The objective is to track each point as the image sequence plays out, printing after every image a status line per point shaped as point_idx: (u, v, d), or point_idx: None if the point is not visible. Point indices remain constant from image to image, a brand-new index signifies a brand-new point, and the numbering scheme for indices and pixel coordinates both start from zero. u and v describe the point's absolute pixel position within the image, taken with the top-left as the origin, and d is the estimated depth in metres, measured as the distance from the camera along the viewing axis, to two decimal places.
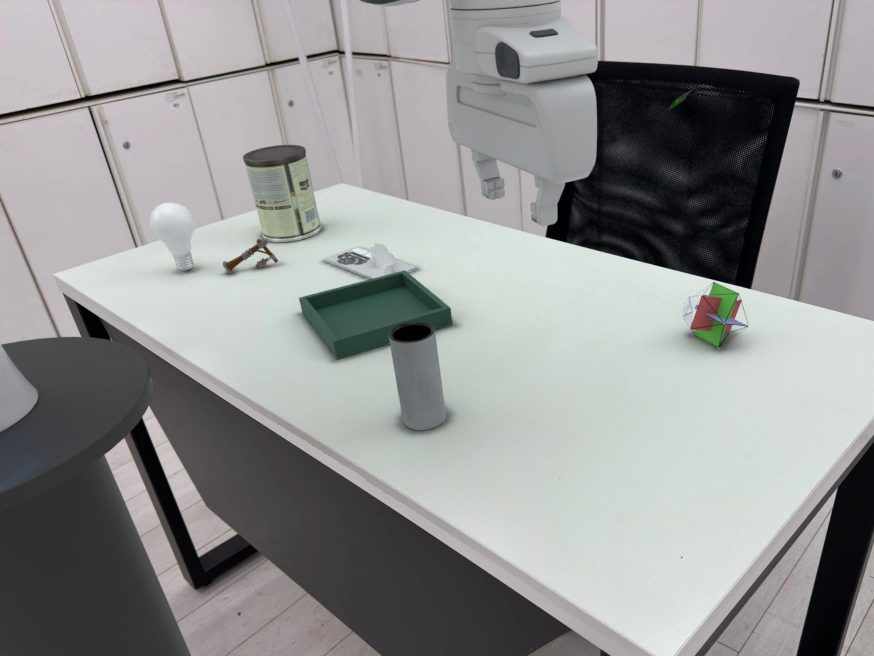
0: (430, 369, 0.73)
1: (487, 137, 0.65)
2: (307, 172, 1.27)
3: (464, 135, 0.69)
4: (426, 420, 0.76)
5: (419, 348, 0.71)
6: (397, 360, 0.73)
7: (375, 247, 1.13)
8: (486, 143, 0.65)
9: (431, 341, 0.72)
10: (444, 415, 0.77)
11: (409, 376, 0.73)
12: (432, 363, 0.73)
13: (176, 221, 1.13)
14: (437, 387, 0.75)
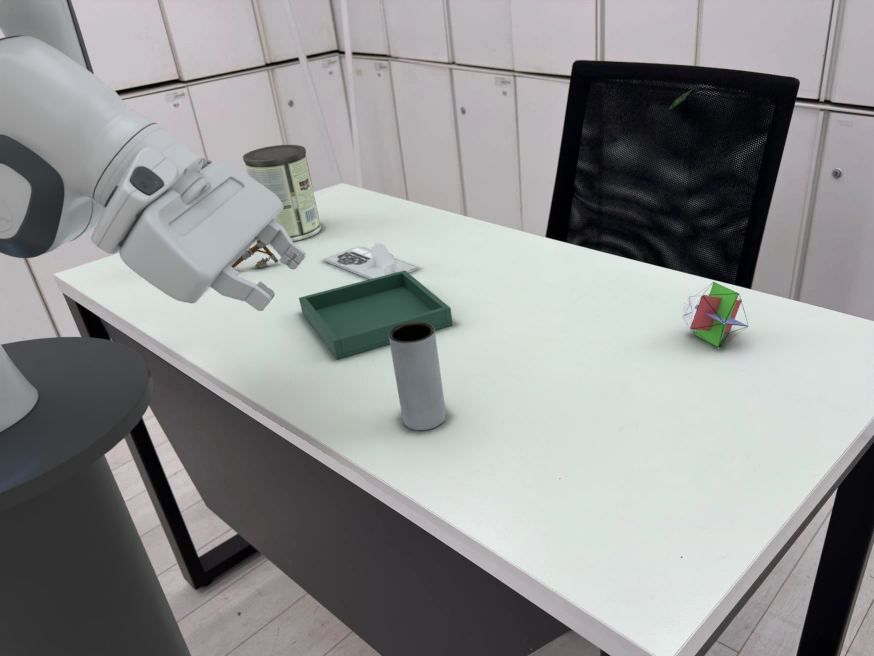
0: (430, 369, 0.73)
1: None
2: (307, 172, 1.27)
3: None
4: (426, 420, 0.76)
5: (419, 348, 0.71)
6: (397, 360, 0.73)
7: (375, 247, 1.13)
8: None
9: (431, 341, 0.72)
10: (444, 415, 0.77)
11: (409, 376, 0.73)
12: (432, 363, 0.73)
13: None
14: (437, 387, 0.75)
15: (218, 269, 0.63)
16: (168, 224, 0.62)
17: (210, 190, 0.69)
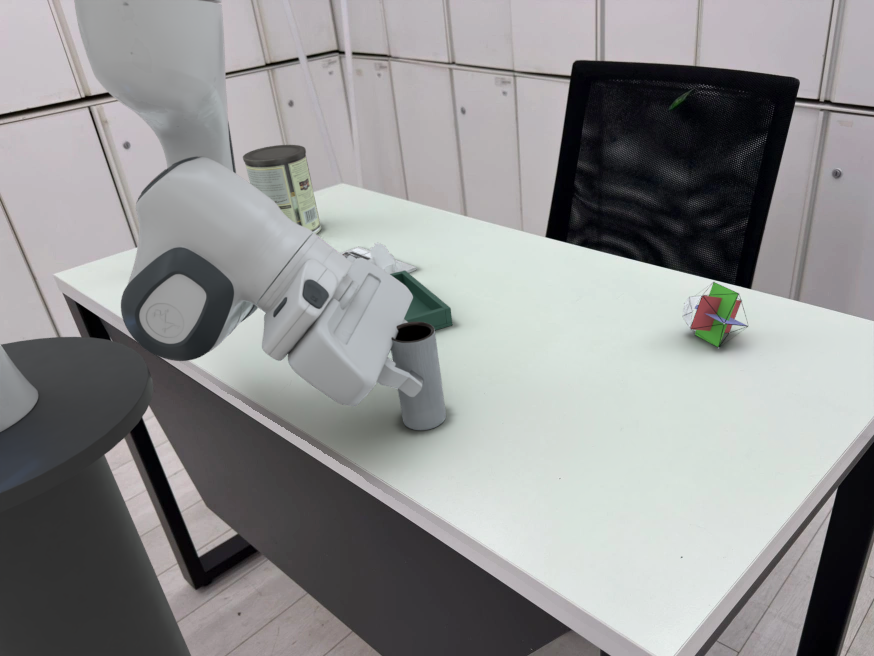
0: (430, 369, 0.73)
1: None
2: (307, 172, 1.27)
3: None
4: (426, 420, 0.76)
5: (419, 348, 0.71)
6: (397, 360, 0.73)
7: (375, 247, 1.13)
8: None
9: (431, 341, 0.72)
10: (444, 415, 0.77)
11: None
12: (432, 363, 0.73)
13: None
14: (437, 387, 0.75)
15: (378, 374, 0.66)
16: (333, 333, 0.66)
17: (357, 290, 0.73)
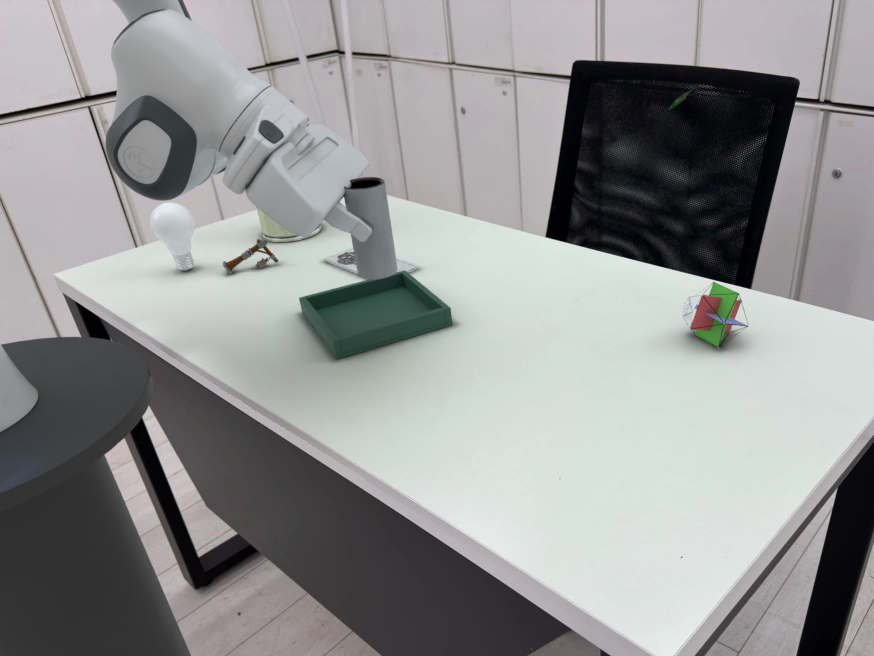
0: (380, 218, 0.80)
1: None
2: None
3: None
4: (378, 269, 0.82)
5: (369, 195, 0.78)
6: (350, 208, 0.79)
7: None
8: None
9: (381, 190, 0.79)
10: (395, 268, 0.84)
11: None
12: (382, 212, 0.80)
13: (176, 221, 1.13)
14: (387, 237, 0.82)
15: (328, 208, 0.73)
16: (287, 169, 0.73)
17: (314, 146, 0.80)
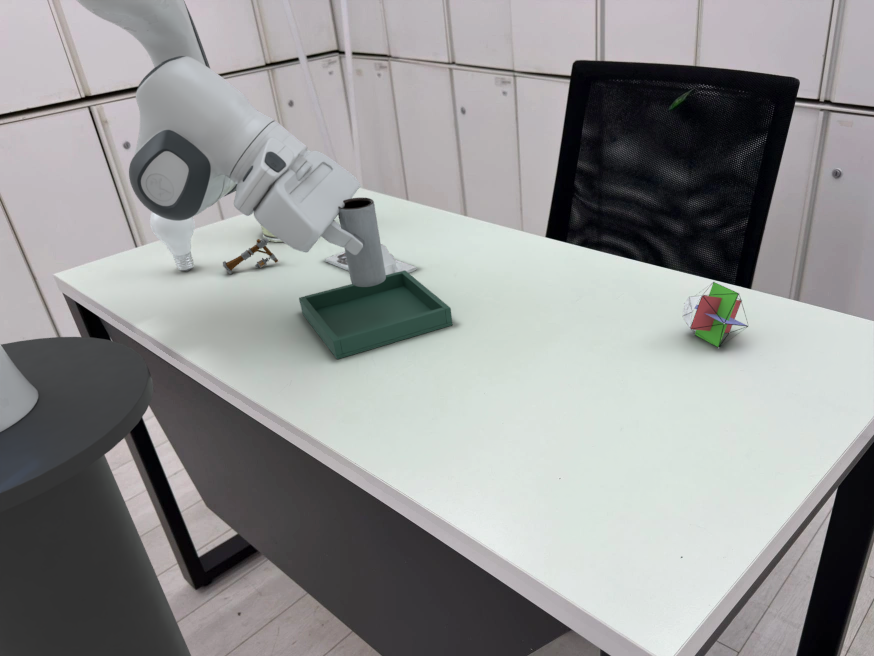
0: (370, 233, 0.92)
1: None
2: None
3: None
4: (368, 278, 0.94)
5: (360, 214, 0.90)
6: (343, 225, 0.91)
7: None
8: None
9: (370, 210, 0.91)
10: (384, 276, 0.96)
11: None
12: (372, 229, 0.92)
13: (176, 221, 1.13)
14: (377, 250, 0.94)
15: (325, 227, 0.85)
16: (289, 194, 0.84)
17: (311, 171, 0.92)
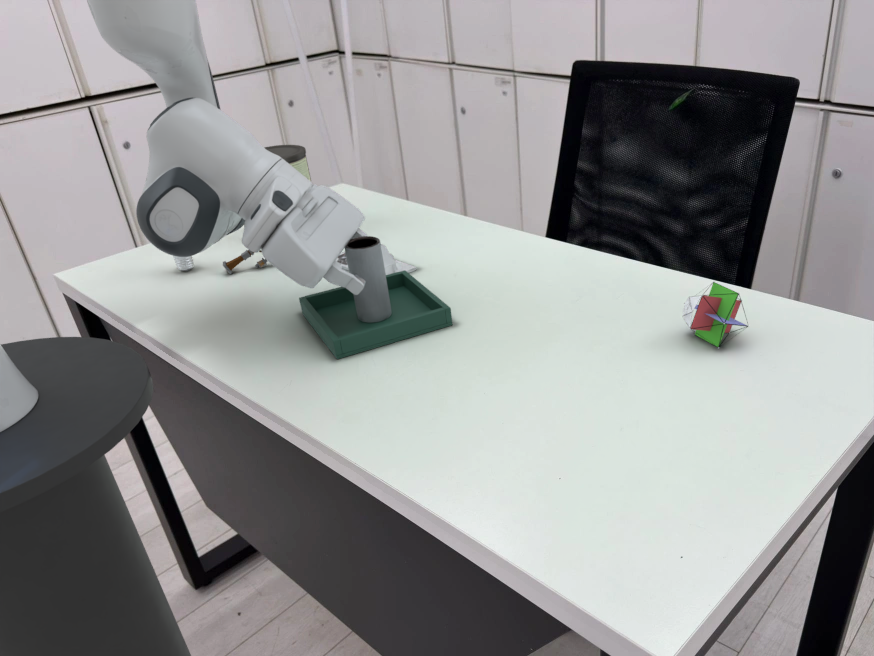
0: (376, 272, 0.94)
1: None
2: (307, 172, 1.27)
3: None
4: (375, 314, 0.97)
5: (367, 254, 0.93)
6: (351, 264, 0.94)
7: None
8: None
9: (377, 249, 0.93)
10: (390, 312, 0.99)
11: None
12: (378, 267, 0.94)
13: None
14: (383, 287, 0.96)
15: (330, 263, 0.87)
16: (296, 231, 0.86)
17: (317, 206, 0.94)
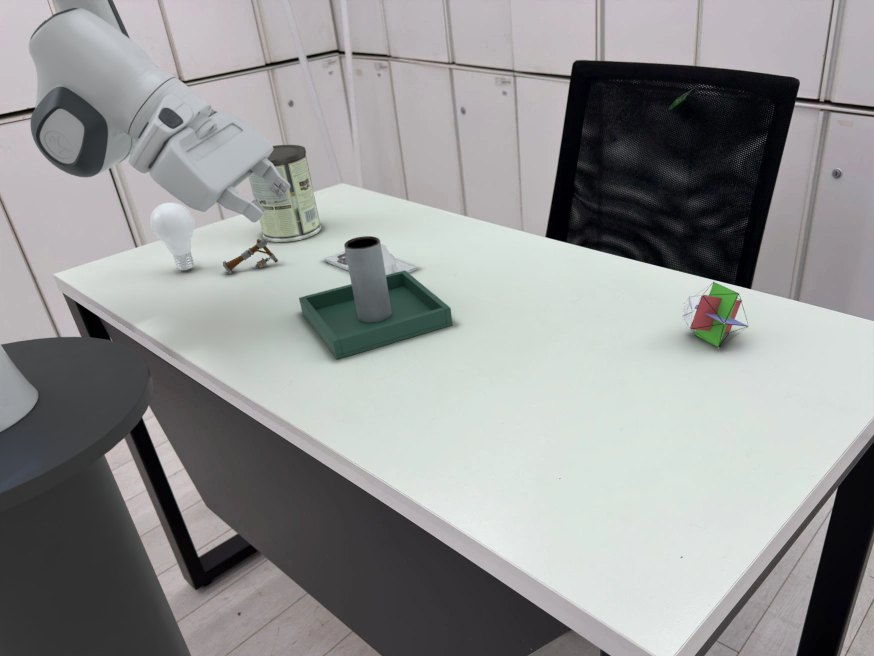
0: (376, 272, 0.94)
1: None
2: (307, 172, 1.27)
3: None
4: (375, 314, 0.97)
5: (367, 254, 0.93)
6: (351, 264, 0.94)
7: None
8: None
9: (377, 249, 0.93)
10: (390, 312, 0.99)
11: (360, 277, 0.94)
12: (378, 267, 0.94)
13: (176, 221, 1.13)
14: (383, 287, 0.96)
15: (223, 186, 0.84)
16: (186, 151, 0.83)
17: (216, 131, 0.90)
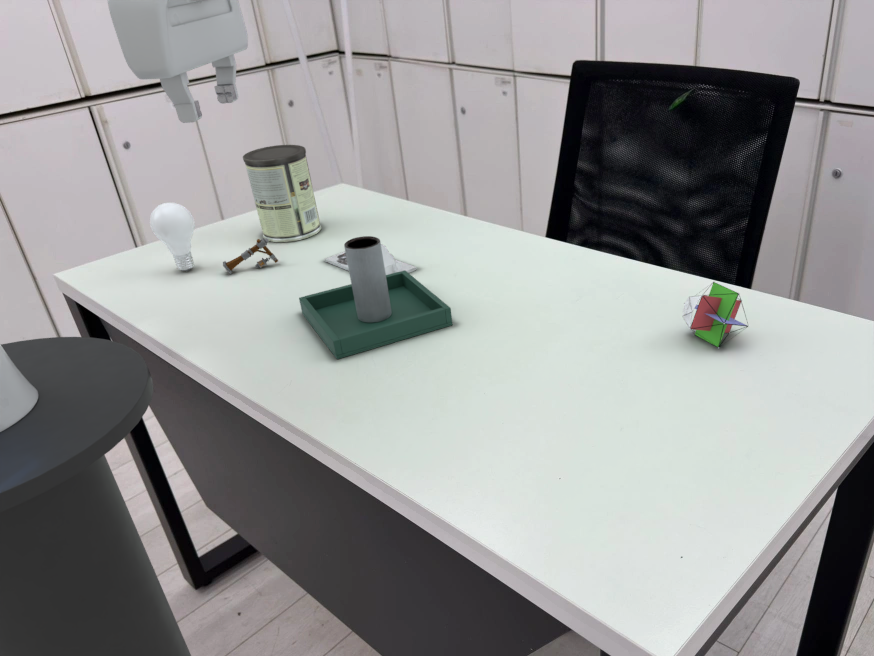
0: (376, 271, 0.94)
1: None
2: (307, 172, 1.27)
3: None
4: (375, 314, 0.97)
5: (367, 254, 0.93)
6: (351, 264, 0.94)
7: None
8: None
9: (377, 249, 0.93)
10: (390, 312, 0.99)
11: (360, 277, 0.94)
12: (378, 267, 0.94)
13: (176, 221, 1.13)
14: (383, 287, 0.96)
15: (179, 72, 0.68)
16: (167, 8, 0.66)
17: None
